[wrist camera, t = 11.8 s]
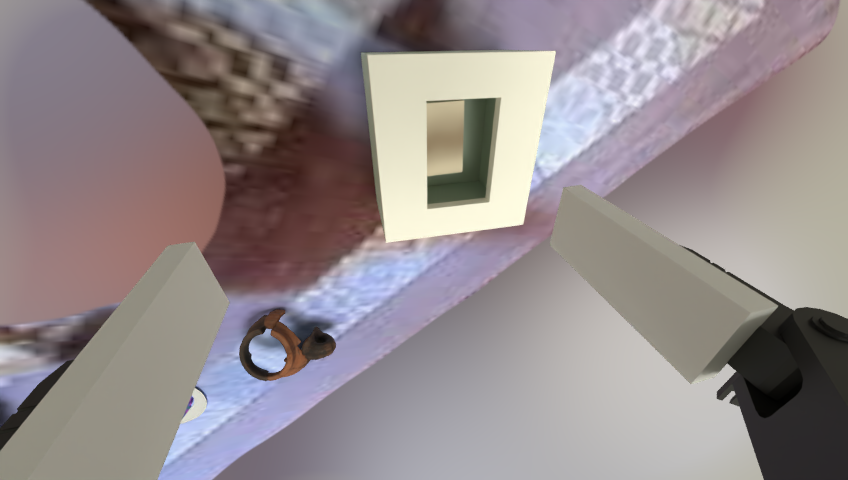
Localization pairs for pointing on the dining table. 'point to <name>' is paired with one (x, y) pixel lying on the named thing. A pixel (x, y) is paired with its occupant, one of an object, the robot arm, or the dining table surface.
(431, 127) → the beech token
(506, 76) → the slot box
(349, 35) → the dining table surface
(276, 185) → the dining table surface
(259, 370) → the pottery mug
